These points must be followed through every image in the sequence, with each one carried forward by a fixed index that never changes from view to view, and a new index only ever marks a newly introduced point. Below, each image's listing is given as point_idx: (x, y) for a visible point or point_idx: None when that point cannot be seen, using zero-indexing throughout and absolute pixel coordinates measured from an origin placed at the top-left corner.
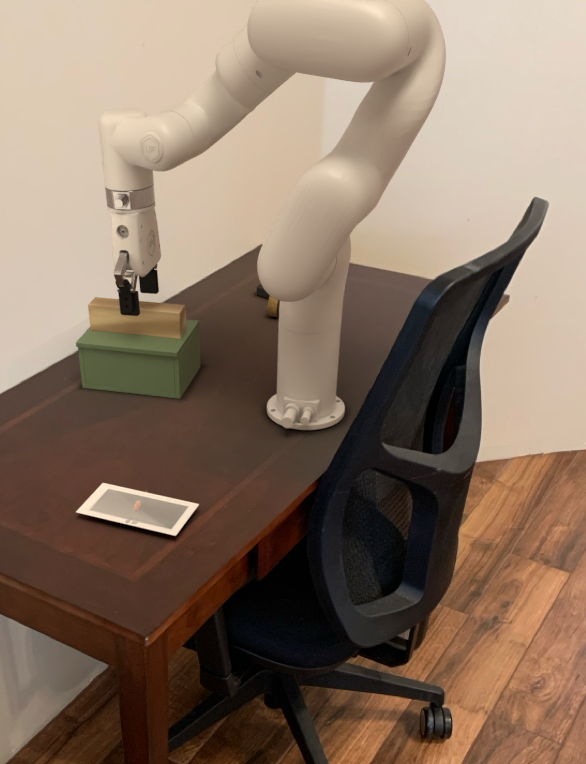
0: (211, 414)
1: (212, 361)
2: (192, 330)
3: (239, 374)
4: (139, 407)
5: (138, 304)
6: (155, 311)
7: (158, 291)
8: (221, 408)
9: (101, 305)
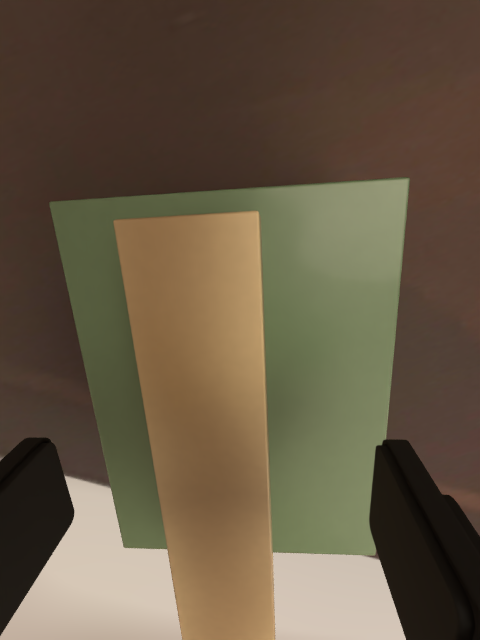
0: (414, 64)
1: (95, 189)
2: (156, 195)
3: (141, 71)
4: (402, 287)
5: (437, 495)
6: (264, 372)
7: (29, 439)
8: (371, 45)
9: (268, 617)
